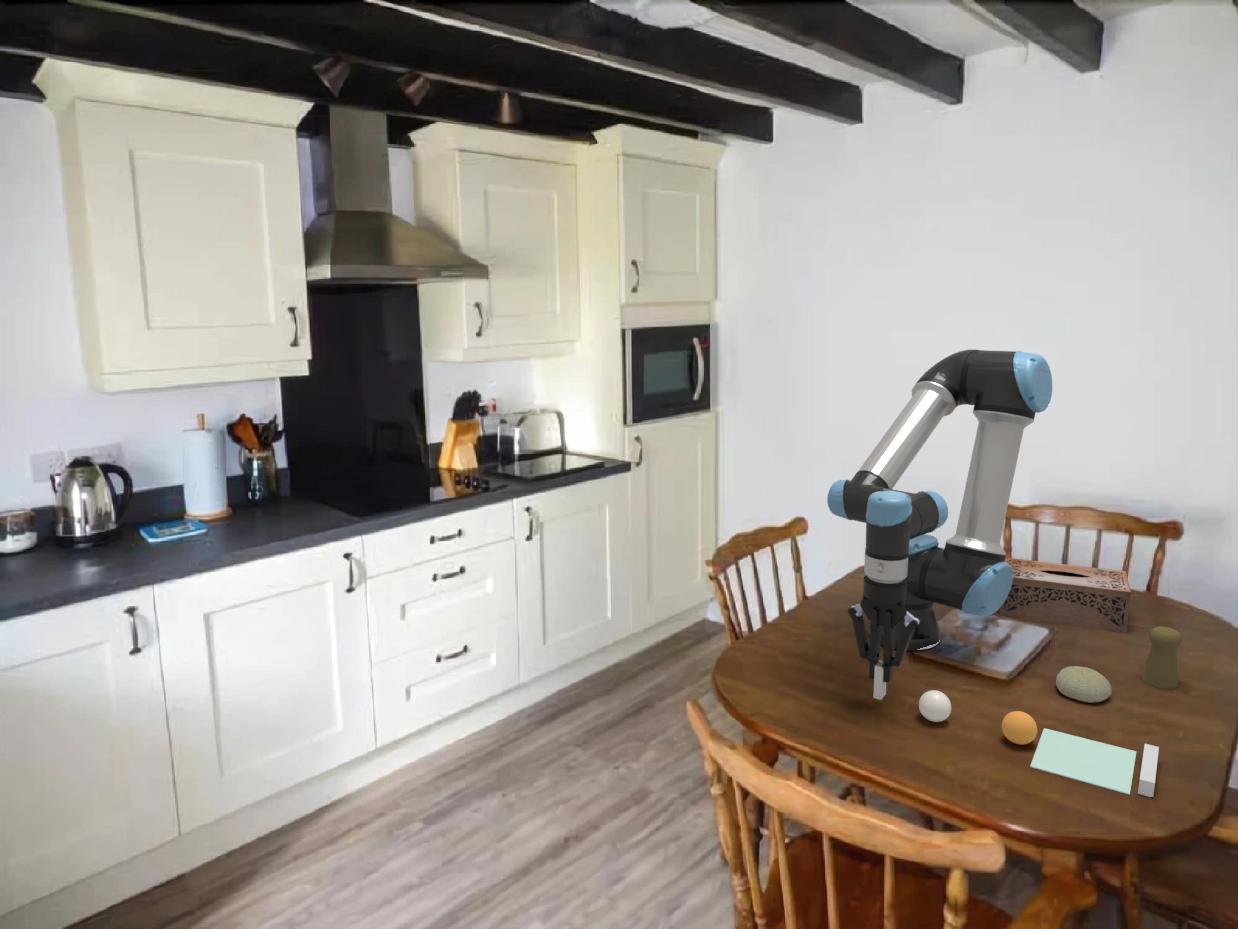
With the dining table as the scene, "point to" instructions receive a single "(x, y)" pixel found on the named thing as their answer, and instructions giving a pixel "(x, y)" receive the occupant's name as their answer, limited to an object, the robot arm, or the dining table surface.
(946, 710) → the cue ball
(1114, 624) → the tissue box cover
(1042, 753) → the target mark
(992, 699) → the dining table surface
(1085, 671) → the sea urchin shell
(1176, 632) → the cork
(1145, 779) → the stopper
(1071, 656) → the dining table surface
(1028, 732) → the orange ball
